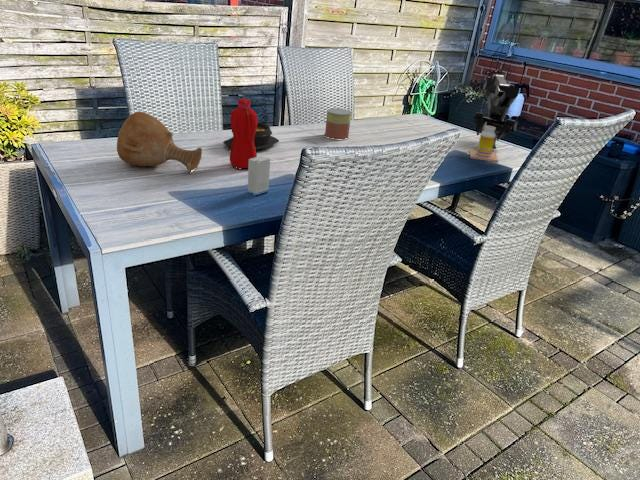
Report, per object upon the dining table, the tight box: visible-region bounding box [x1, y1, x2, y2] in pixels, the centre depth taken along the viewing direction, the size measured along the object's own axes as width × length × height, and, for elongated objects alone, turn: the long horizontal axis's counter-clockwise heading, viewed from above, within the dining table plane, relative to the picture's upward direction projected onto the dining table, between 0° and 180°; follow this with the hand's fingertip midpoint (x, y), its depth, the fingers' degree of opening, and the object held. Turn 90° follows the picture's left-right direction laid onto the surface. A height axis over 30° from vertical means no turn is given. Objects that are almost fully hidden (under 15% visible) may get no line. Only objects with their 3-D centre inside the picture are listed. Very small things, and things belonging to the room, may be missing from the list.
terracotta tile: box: [468, 148, 499, 163], centre depth 228 cm, size 12×12×1 cm
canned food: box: [324, 107, 352, 139], centre depth 233 cm, size 11×11×12 cm
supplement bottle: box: [476, 125, 496, 156], centre depth 225 cm, size 7×7×13 cm
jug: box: [116, 111, 203, 173], centre depth 178 cm, size 20×19×30 cm
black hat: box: [223, 122, 280, 150], centre depth 211 cm, size 25×19×8 cm
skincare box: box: [247, 155, 271, 193], centre depth 165 cm, size 6×4×12 cm
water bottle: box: [229, 98, 259, 168], centre depth 183 cm, size 9×11×25 cm
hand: (487, 137), depth 224 cm, fingers open, 9 cm apart
